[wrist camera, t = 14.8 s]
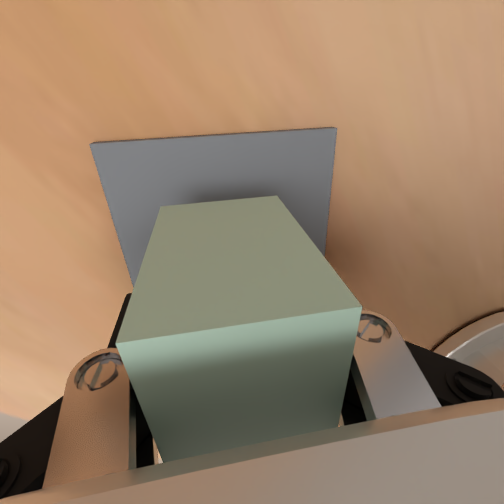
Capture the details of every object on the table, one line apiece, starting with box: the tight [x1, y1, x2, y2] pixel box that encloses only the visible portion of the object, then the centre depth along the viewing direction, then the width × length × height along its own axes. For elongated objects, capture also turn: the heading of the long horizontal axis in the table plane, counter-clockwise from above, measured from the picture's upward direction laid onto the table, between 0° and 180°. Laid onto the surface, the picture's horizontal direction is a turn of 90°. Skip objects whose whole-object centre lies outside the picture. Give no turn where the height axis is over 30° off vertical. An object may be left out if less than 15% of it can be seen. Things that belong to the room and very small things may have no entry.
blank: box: [115, 196, 362, 463], centre depth 9 cm, size 7×4×6 cm, turn 2°
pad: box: [89, 127, 337, 287], centre depth 14 cm, size 10×10×1 cm
